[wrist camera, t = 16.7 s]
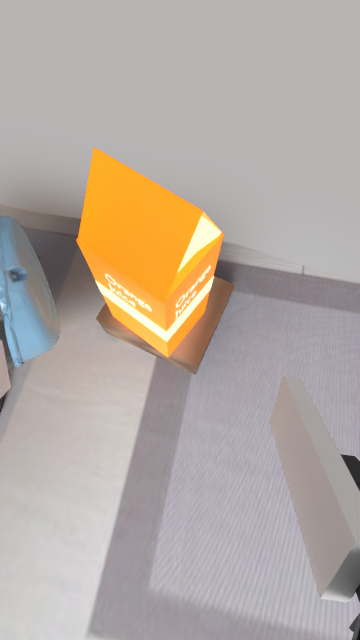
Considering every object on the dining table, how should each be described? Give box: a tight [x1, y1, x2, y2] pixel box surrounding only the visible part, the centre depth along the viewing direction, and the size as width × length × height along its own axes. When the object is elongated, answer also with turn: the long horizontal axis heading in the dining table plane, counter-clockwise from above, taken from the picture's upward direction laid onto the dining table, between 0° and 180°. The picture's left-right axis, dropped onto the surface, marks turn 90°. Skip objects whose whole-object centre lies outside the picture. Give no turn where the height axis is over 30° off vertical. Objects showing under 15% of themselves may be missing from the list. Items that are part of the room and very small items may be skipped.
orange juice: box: [76, 147, 223, 357], centre depth 26 cm, size 8×9×20 cm
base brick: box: [96, 276, 235, 374], centre depth 39 cm, size 14×12×6 cm
